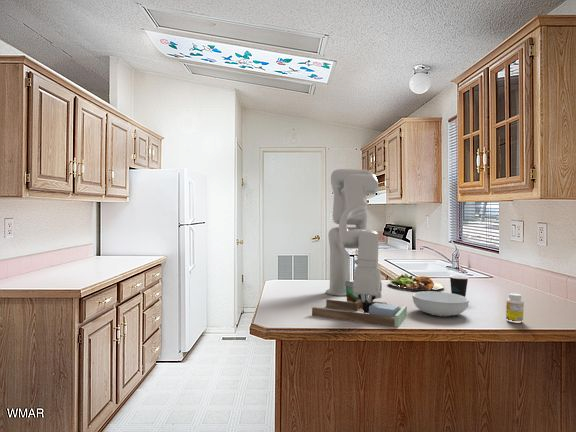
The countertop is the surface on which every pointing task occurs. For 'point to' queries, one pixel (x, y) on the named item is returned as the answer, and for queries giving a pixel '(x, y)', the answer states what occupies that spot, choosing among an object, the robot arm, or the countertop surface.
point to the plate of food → (416, 282)
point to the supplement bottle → (514, 307)
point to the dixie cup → (458, 284)
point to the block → (383, 309)
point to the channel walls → (352, 313)
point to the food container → (351, 292)
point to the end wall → (400, 316)
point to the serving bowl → (440, 303)
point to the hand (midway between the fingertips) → (366, 312)
